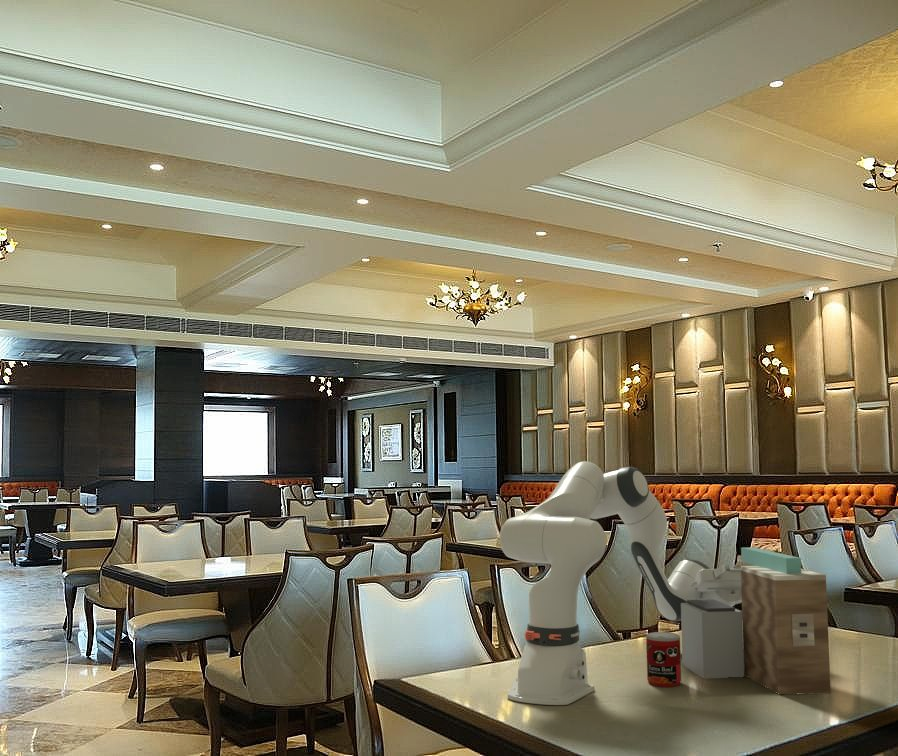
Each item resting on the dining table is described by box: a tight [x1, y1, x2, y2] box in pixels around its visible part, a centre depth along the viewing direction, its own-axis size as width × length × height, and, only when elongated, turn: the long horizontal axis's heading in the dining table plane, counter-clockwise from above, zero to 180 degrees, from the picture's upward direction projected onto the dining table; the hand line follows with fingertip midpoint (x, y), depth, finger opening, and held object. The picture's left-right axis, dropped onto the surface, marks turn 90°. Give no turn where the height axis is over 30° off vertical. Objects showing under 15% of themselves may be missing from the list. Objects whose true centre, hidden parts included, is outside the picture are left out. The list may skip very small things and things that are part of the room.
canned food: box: [645, 631, 682, 688], centre depth 208 cm, size 8×8×11 cm
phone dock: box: [680, 599, 745, 680], centre depth 220 cm, size 14×10×16 cm
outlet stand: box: [740, 565, 832, 695], centre depth 207 cm, size 19×12×26 cm, turn 6°
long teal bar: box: [740, 547, 802, 574], centre depth 215 cm, size 24×4×4 cm, turn 6°
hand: (744, 567), depth 229 cm, fingers open, 8 cm apart
